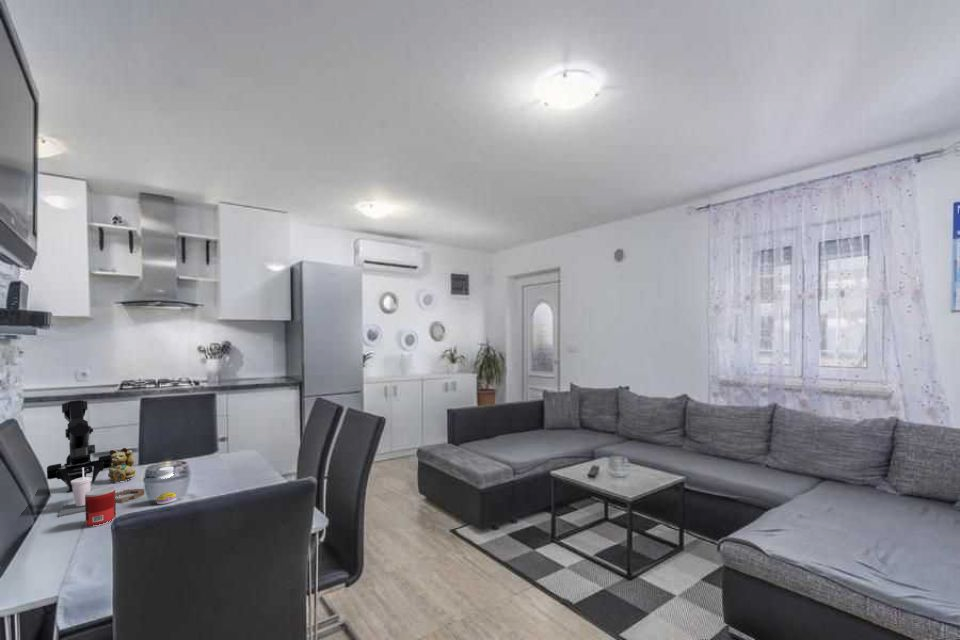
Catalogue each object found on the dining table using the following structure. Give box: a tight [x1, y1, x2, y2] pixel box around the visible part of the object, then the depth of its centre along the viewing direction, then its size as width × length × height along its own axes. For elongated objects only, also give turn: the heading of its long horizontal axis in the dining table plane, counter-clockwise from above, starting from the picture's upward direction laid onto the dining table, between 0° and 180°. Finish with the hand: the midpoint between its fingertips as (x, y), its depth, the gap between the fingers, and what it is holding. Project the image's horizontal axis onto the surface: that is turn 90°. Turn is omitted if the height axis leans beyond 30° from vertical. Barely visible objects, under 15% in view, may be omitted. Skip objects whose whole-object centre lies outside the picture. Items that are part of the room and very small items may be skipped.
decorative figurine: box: [107, 447, 136, 482], centre depth 199 cm, size 10×8×15 cm
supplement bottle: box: [155, 466, 178, 505], centre depth 170 cm, size 7×7×13 cm
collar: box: [115, 488, 145, 504], centre depth 177 cm, size 15×12×1 cm
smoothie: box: [70, 467, 93, 506], centre depth 168 cm, size 6×6×14 cm
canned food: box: [84, 486, 117, 527], centre depth 153 cm, size 8×8×11 cm
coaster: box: [57, 502, 86, 517], centre depth 168 cm, size 12×12×1 cm
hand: (81, 485), depth 167 cm, fingers closed on smoothie, 6 cm apart
